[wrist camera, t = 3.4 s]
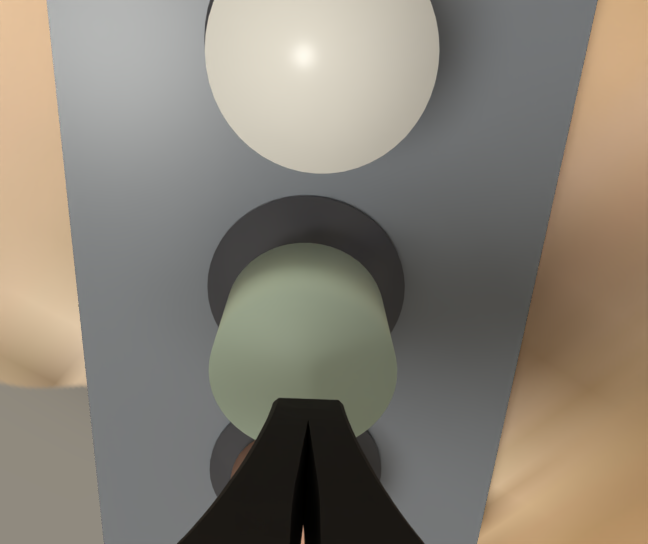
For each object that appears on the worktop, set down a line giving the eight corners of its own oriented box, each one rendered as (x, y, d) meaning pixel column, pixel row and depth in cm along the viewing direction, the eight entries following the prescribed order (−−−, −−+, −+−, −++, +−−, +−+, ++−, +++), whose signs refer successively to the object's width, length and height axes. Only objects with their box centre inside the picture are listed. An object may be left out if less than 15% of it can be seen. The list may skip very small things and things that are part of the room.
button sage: (392, 247, 16) (408, 295, 13) (375, 386, 18) (387, 454, 15) (226, 237, 16) (207, 284, 13) (226, 379, 17) (209, 447, 15)
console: (587, -96, 16) (625, -112, 14) (461, 519, 25) (474, 564, 23) (63, -137, 16) (26, -160, 14) (120, 505, 24) (102, 550, 22)
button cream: (426, -49, 13) (455, -66, 10) (403, 150, 15) (423, 180, 12) (226, -64, 13) (202, -86, 10) (226, 139, 15) (206, 167, 12)
